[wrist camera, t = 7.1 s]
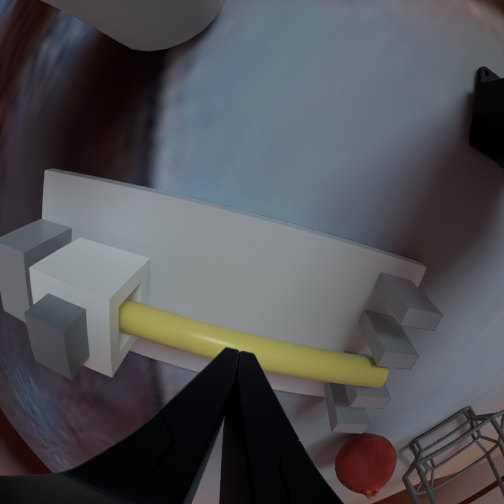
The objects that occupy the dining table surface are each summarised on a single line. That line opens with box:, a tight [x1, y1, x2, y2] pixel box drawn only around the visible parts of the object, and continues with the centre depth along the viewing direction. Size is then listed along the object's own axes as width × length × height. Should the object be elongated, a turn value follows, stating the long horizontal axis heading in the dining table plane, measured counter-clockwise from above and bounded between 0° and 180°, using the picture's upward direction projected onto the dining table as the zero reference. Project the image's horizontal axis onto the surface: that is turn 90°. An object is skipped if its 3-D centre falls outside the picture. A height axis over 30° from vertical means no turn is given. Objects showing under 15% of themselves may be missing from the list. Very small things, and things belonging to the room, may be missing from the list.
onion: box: [335, 432, 397, 499], centre depth 20 cm, size 6×6×8 cm
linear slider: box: [0, 169, 443, 433], centre depth 16 cm, size 26×12×6 cm, turn 76°
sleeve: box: [24, 237, 150, 380], centre depth 14 cm, size 5×5×7 cm
